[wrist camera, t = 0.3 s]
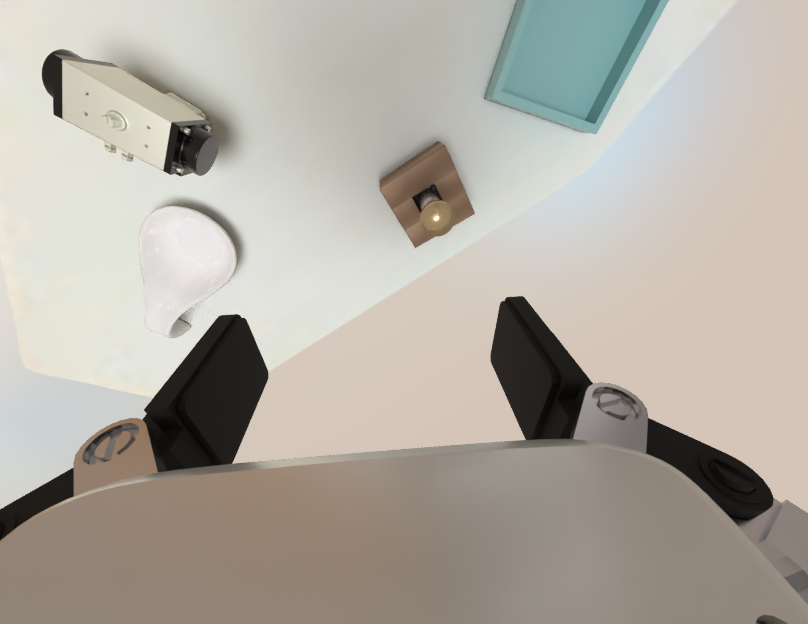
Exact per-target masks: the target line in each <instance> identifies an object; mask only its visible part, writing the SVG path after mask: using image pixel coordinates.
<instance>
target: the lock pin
mask: <svg viewBox="0 0 808 624" xmlns="http://www.w3.org/2000/svg"><path fill="white" fill-rule="evenodd" d="M416 197H417V199H418V202H419V204H420V207H421V209H422V210H421V213H420V222H421V225H422V227H423V229H424V231H425V232H426V233H427V234H429V235H431V236H442V235H444V234H446V233H447V232H449V231H450V230H451V228H452V227H453V225H454V221H455V215H454V212H453V210H452V208H451V207H450V205H449V204H448V203H447V202H445V201H443V200H439V198H438V197H437V195H436V194H435V192H434V190H433V189H432V187H431V186H429V187H428V188H426V189H424V190H423V191H421V192H420V193H418V194H416Z"/></svg>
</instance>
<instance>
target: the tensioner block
mask: <svg viewBox="0 0 808 624" xmlns="http://www.w3.org/2000/svg"><path fill="white" fill-rule="evenodd" d="M432 184H433V185H434V187H435V189H436V191H437V193H438V195H439V197H438V198H439V200H443V201H445V202H447V203H448V204H449V205H450V207H451V208H452V210H453V212H454V215H455V221H454V225H456V224H458V223H460V222H461V221H463V220H465V219H466V218H468V217H470V216H472V215H473V214H475V212H474V210H473V208H472V206H471V203H470V201H469V199H468V196H467V194H466V192H465V190H464V187H463V185H462V183H461V180H460V178H459V176H458V174H457V171H456V169H455V167H454V164H453V162H452V160H451V158H450V155H449V153H448V151H447V148H446V146H445V145H443V144H442V143H440V142H437V143H435V144H434V145H432V146H431V147H429V148H428V149H426V150H425V151H423V152H422V153H420V154H419V155H417V156H416V157H414V158H413V159H411V160H410V161H408V162H407V163H405V164H404V165H402V166H401V167H399V168H398V169H396V170H395V171H394V172H392V173H391V174H389V175H388V176H386V177H385V178H383V179H382V180H380V191H381V192H382V194H383V196H384V197H385V199H386V201H387V202H388V204H389V206H390V207H391V209H392V210H393V212H394V214H395V215H396V217H397V219H398V220H399V222H400V224H401V225H402V227H403V229H404V230H405V232H406V233H407V235H408V237H409V238H410V240H411V242H412V243H413V245H414V247H415V248H416V247H418V246H420V245H421V244H423V243H425V242H427V241H428V240H430V239H432V238H434V237H435V236H431V235H429V234H427V233H426V232H425V231H424V229H423V227H422V225H421V222H420V213H421V210H422V209H421V208H419V206H418V204H417V203H416V201H415V199H414V197H413V196H415V195H416V194H418V193H420V192H421V191H423V190H424V189H426V188H428V187H429V186H431V185H432ZM454 225H453V226H454Z"/></svg>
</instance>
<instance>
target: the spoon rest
mask: <svg viewBox="0 0 808 624" xmlns="http://www.w3.org/2000/svg"><path fill="white" fill-rule="evenodd" d="M139 253H140V261H141V269H142V276H143V284H144V292H145V326H146V329H147V330H149V331H153V332H157V333H160V334H162V335H164V336H166V337H168V338H176V337H179V336H181V335H183V334H184V333H185V332H187V331H188V330H189V329H190V325H189V324H188V323H186V322H184V321H182V320H179V319H178V318H179V317H180V316H181V315H182V314H183V313H184V312H186V311H187V310H188V309H190V308H191V307H193V306H194V305H196V304H198V303H199V302H201V301H202V300H204V299H206V298H207V297H209V296H210V295H212V294H213V293H215V292H216V291H217V290H219V289H220V288H221V287H222V286H224V285H225V284H226V283H227V282H228V281H229V279H230V278H231V277H232V275H233V273H234V271H235V269H236V265H237V254H236V249H235V246H234V244H233V242H232V240H231V238H230V236H229V235H228V233H227V232H226V231H225V230H224V229H223V228H222V227H221V226H220V225H219V224H218V223H217V222H215V221H214V220H212V219H211V218H210V217H208V216H206V215H205V214H203V213H201V212H198V211H196V210H193V209H190V208H187V207H182V206H165V207H161V208H159V209H157V210H155V211H153V212H152V213H151V214H150V215H149V216H148V217H147V218H146V219H145V221H144V222H143V224H142V227H141V230H140V236H139Z"/></svg>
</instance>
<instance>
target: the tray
mask: <svg viewBox="0 0 808 624" xmlns="http://www.w3.org/2000/svg"><path fill="white" fill-rule="evenodd" d="M668 1H669V0H517V2H516V5H515V8H514V11H513V14H512V17H511V20H510V23H509V26H508V29H507V32H506V35H505V38H504V41H503V44H502V47H501V50H500V53H499V56H498V59H497V62H496V65H495V68H494V71H493V74H492V77H491V80H490V83H489V86H488V89H487V92H486V95H485V98H484V99H487V100H490V101H493V102H496V103H499V104H502V105H505V106H508V107H511V108H514V109H517V110H519V111H522V112H525V113H528V114H531V115H534V116H537V117H540V118H543V119H546V120H549V121H552V122H554V123H557V124H560V125H563V126H566V127H569V128H572V129H575V130H578V131H581V132H586V133H594V134H597V132H598V130H599V128H600V126H601V124H602V123H603V121H604V119H605V117H606V115H607V113H608V111H609V110H610V108H611V106H612V104H613V102H614V100H615V99H616V97H617V95H618V93H619V91H620V89H621V87H622V86H623V84H624V82H625V80H626V78H627V76H628V75H629V73H630V71H631V69H632V67H633V65H634V63H635V62H636V60H637V58H638V56H639V54H640V52H641V51H642V49H643V47H644V45H645V43H646V41H647V40H648V38H649V36H650V34H651V32H652V30H653V28H654V27H655V25H656V23H657V21H658V19H659V17H660V16H661V14H662V12H663V10H664V8H665V6H666V4H667V3H668Z"/></svg>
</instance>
